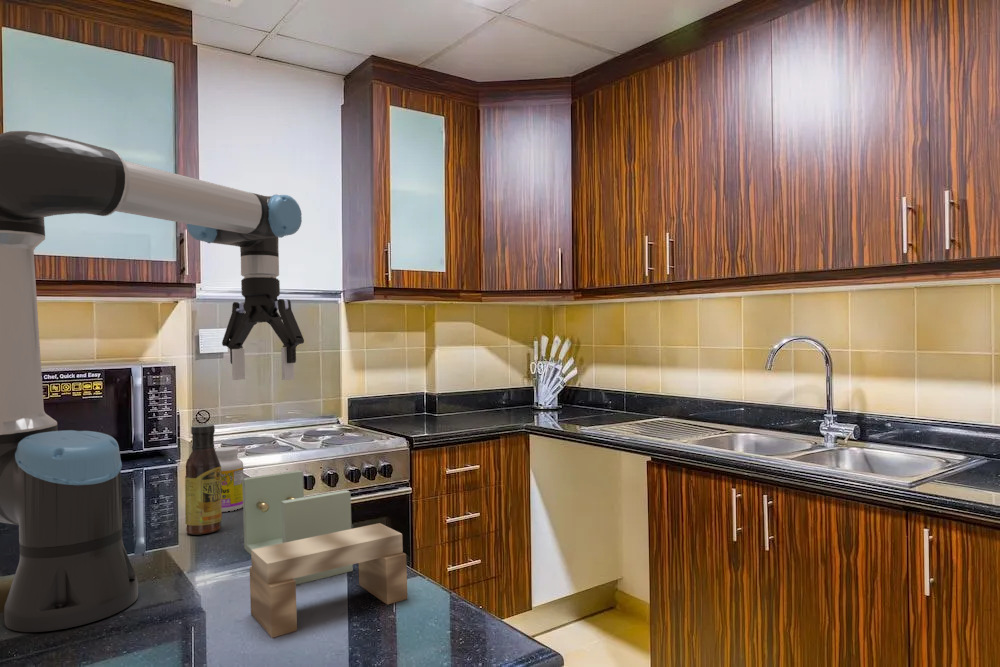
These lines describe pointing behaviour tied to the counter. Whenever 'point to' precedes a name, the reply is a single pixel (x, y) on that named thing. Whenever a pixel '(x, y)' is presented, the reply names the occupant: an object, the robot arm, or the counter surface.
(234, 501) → the supplement bottle
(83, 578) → the robot arm
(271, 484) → the shelf frame
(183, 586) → the counter surface
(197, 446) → the sauce bottle
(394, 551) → the shelf board
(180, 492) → the counter surface
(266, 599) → the blocks
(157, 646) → the counter surface
